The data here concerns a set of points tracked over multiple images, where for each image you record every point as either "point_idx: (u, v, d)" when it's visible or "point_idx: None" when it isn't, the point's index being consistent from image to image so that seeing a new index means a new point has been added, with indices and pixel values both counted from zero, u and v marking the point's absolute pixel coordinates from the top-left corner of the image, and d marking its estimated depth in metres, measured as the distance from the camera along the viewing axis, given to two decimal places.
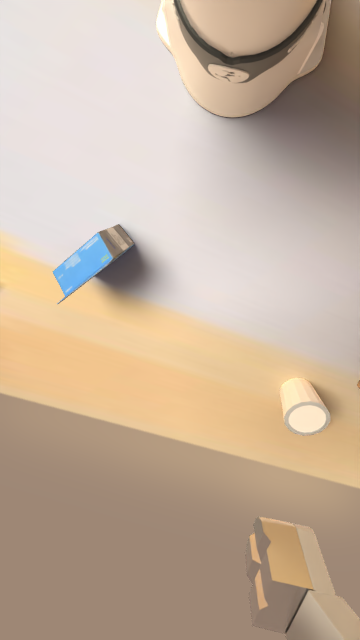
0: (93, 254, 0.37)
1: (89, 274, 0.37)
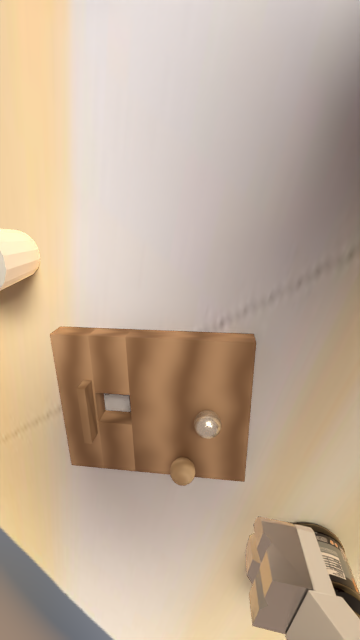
0: None
1: None
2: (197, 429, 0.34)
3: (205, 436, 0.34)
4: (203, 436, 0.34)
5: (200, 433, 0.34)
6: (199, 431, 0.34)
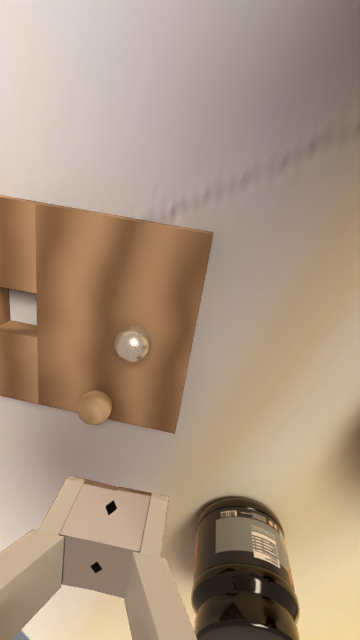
0: None
1: None
2: (116, 346, 0.25)
3: (125, 356, 0.25)
4: (123, 356, 0.25)
5: (119, 351, 0.25)
6: (118, 348, 0.25)
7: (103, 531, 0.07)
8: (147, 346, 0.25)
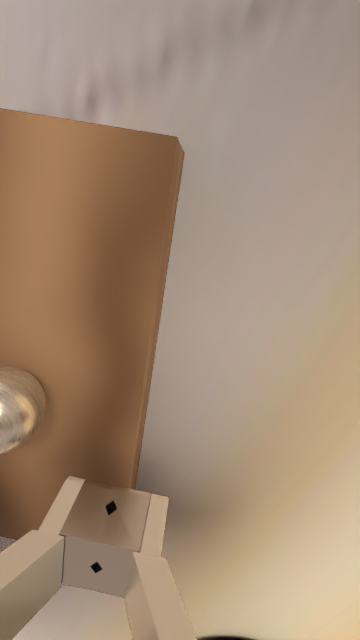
0: None
1: None
2: None
3: None
4: None
5: None
6: None
7: (103, 531, 0.07)
8: (24, 419, 0.10)
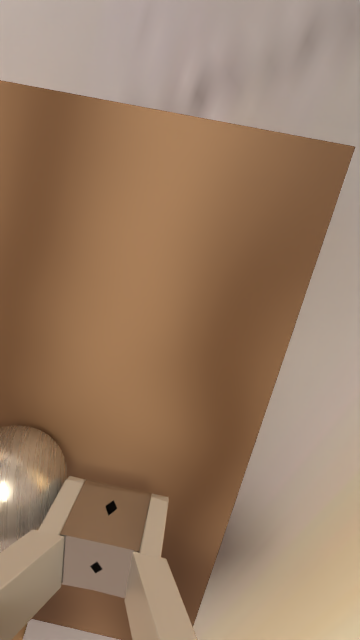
0: None
1: None
2: None
3: None
4: None
5: None
6: None
7: (103, 531, 0.07)
8: None
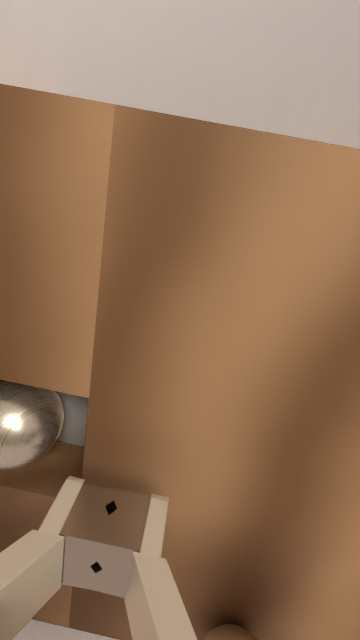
0: None
1: None
2: None
3: None
4: None
5: None
6: None
7: (103, 531, 0.07)
8: None
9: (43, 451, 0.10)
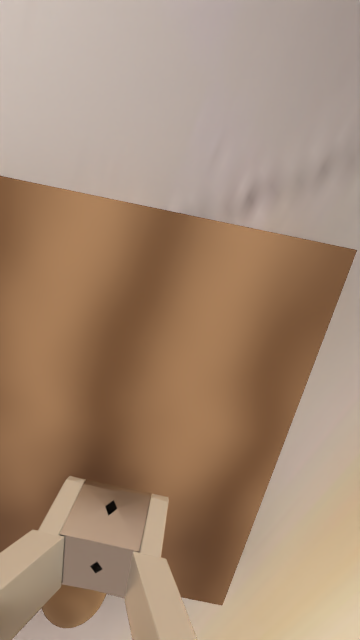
0: None
1: None
2: None
3: None
4: None
5: None
6: None
7: (103, 531, 0.07)
8: None
9: None
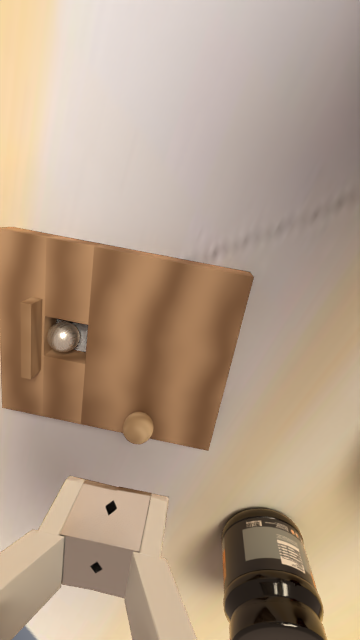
0: None
1: None
2: None
3: None
4: None
5: None
6: None
7: (103, 531, 0.07)
8: (47, 334, 0.31)
9: (73, 345, 0.31)
